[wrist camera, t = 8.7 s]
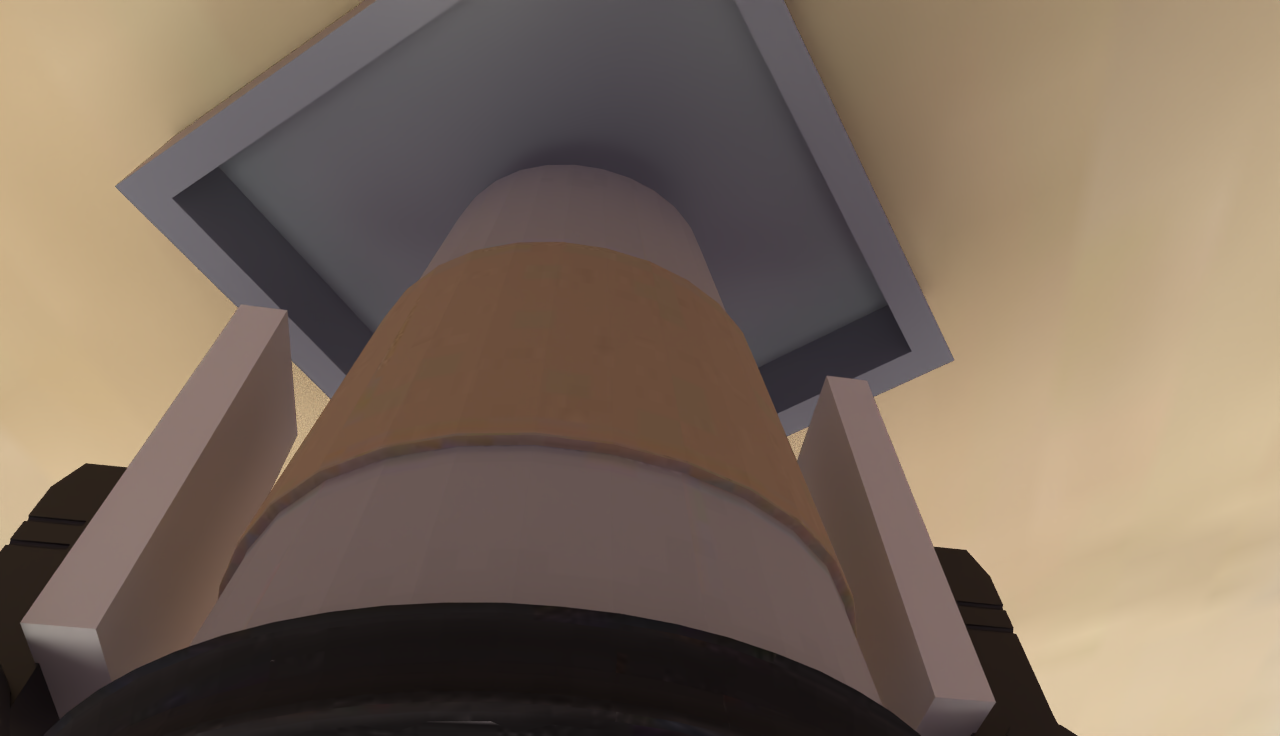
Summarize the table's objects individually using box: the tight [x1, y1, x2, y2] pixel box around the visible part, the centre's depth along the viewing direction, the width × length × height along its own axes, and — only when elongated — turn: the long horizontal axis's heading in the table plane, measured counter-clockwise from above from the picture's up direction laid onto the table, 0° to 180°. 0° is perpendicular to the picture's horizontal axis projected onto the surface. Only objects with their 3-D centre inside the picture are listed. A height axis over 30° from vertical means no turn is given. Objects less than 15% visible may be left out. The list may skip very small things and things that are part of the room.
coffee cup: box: [43, 165, 921, 736], centre depth 13 cm, size 9×9×15 cm
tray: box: [115, 0, 954, 436], centre depth 21 cm, size 14×14×3 cm
